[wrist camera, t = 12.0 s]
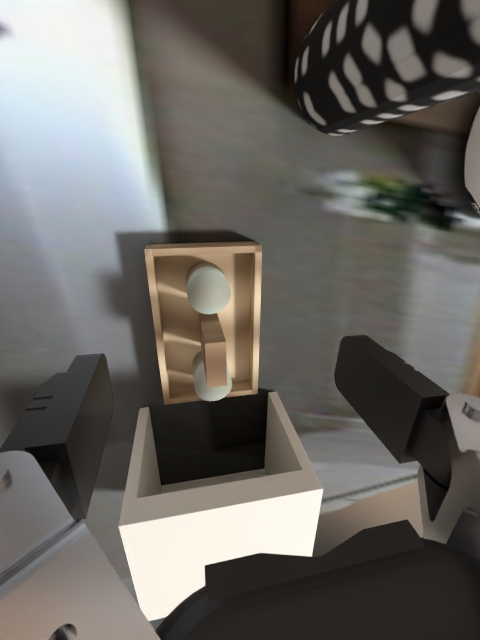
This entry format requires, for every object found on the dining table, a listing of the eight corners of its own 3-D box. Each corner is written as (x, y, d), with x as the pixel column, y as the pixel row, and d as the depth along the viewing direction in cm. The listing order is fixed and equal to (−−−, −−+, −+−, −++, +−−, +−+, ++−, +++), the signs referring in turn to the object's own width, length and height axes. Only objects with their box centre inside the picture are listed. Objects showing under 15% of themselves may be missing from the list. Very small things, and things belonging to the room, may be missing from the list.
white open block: (154, 492, 39) (143, 622, 27) (139, 407, 33) (118, 526, 22) (271, 472, 42) (307, 582, 30) (276, 391, 36) (323, 488, 24)
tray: (146, 244, 26) (134, 266, 19) (255, 240, 28) (284, 260, 21) (165, 390, 33) (161, 450, 25) (252, 380, 35) (273, 434, 27)
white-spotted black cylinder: (377, 138, 27) (793, 32, 9) (289, 132, 25) (572, -12, 7) (399, 15, 23) (1157, -579, 5) (300, 0, 22) (885, -908, 4)
